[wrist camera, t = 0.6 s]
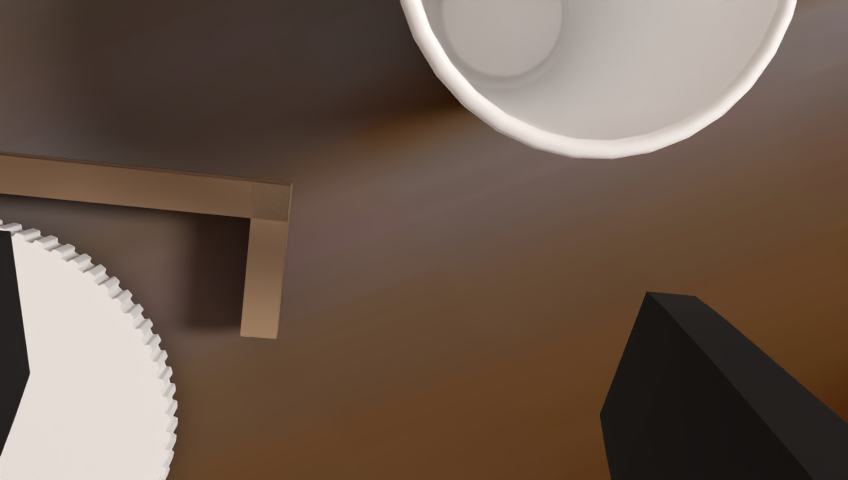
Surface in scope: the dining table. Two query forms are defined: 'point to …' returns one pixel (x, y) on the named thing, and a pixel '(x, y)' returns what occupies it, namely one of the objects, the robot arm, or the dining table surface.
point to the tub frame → (177, 193)
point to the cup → (598, 66)
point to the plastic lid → (86, 374)
